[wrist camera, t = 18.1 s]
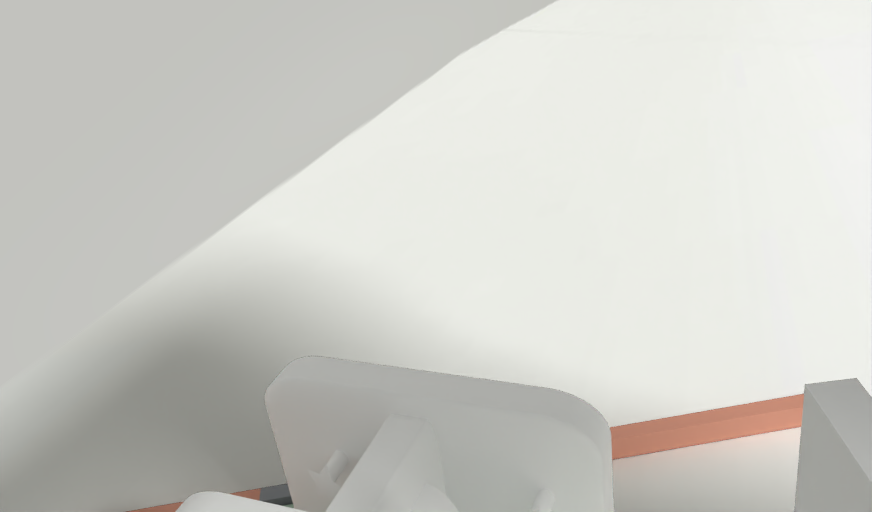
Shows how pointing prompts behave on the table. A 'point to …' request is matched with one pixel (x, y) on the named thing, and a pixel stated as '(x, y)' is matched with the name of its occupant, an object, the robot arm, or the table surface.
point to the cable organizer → (427, 444)
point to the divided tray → (640, 437)
